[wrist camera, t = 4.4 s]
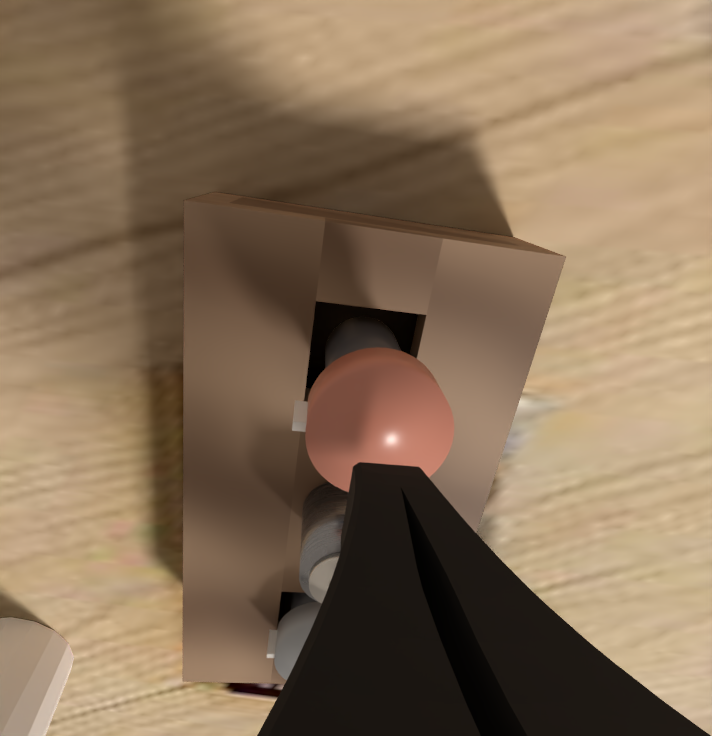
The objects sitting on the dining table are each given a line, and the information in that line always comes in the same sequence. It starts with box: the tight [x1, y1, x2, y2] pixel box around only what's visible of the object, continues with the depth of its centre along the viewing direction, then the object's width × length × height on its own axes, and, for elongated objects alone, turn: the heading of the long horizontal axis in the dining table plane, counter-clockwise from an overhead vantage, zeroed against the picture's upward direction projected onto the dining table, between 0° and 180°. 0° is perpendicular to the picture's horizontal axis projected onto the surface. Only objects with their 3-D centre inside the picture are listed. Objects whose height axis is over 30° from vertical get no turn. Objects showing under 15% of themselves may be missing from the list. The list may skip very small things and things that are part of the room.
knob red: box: [292, 317, 454, 492], centre depth 13 cm, size 3×4×5 cm
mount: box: [183, 192, 566, 684], centre depth 19 cm, size 20×11×4 cm, turn 171°
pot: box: [299, 482, 348, 603], centre depth 15 cm, size 3×3×4 cm
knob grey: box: [267, 592, 322, 680], centre depth 20 cm, size 3×4×5 cm
